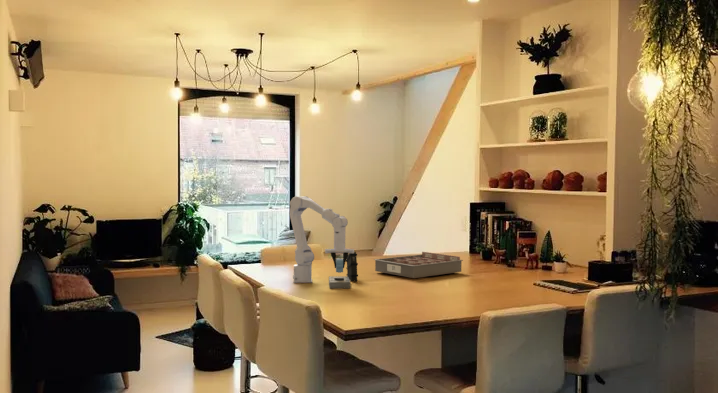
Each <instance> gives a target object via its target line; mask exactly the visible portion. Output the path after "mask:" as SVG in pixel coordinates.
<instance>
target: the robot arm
mask: <svg viewBox="0 0 718 393" xmlns="http://www.w3.org/2000/svg"><path fill="white" fill-rule="evenodd" d="M289 208H290V209H289V218H290V222H291V226H292V231H293V235H294V239H295V244H296V249H295V250H294V254H295V255H294V261H295V263H296V264H293V275H292V279H293V283H295V284H296V283H297V284H298V283H308V284H309V283H313V279H312V273H313V272H312V270H313V269H312V268H313V267H312V266H313V262H314V260H315V254H314V252H313V251H312V248H311V246H310V245H309V244H308V241H307V237H306V233H305V232H306V231H305V228H304V224H303V220H302V214H303V212H305V211H306V210H308V209H311V210H312V211H315V212H316V213H318V214H320V215H321V218H322V219H323V220H325V221H326V222H328V223H329V224H331V225H332V227H333V248H325V249H324V254H330V256H331V258H332V260H333V264H334V269H336V259H337V254H342V259H343V269H344V268H345V265H346V263H347V262H346V260H347V257H348V255H349V253H354V252H355V249H354V248H352V249H351V248H346V227H347V226H348V219H347V218H346V216H344V215H340V213H336V212H335V211H334V210H333V208H325V207H324V206H321V205H320V204H319V203H317V202H316V201H314V200H313V199H312V198H311V197H309V196H306V195H303V196H297V195H295V196H294V197H292V198H291V200H290V201H289Z"/></svg>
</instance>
